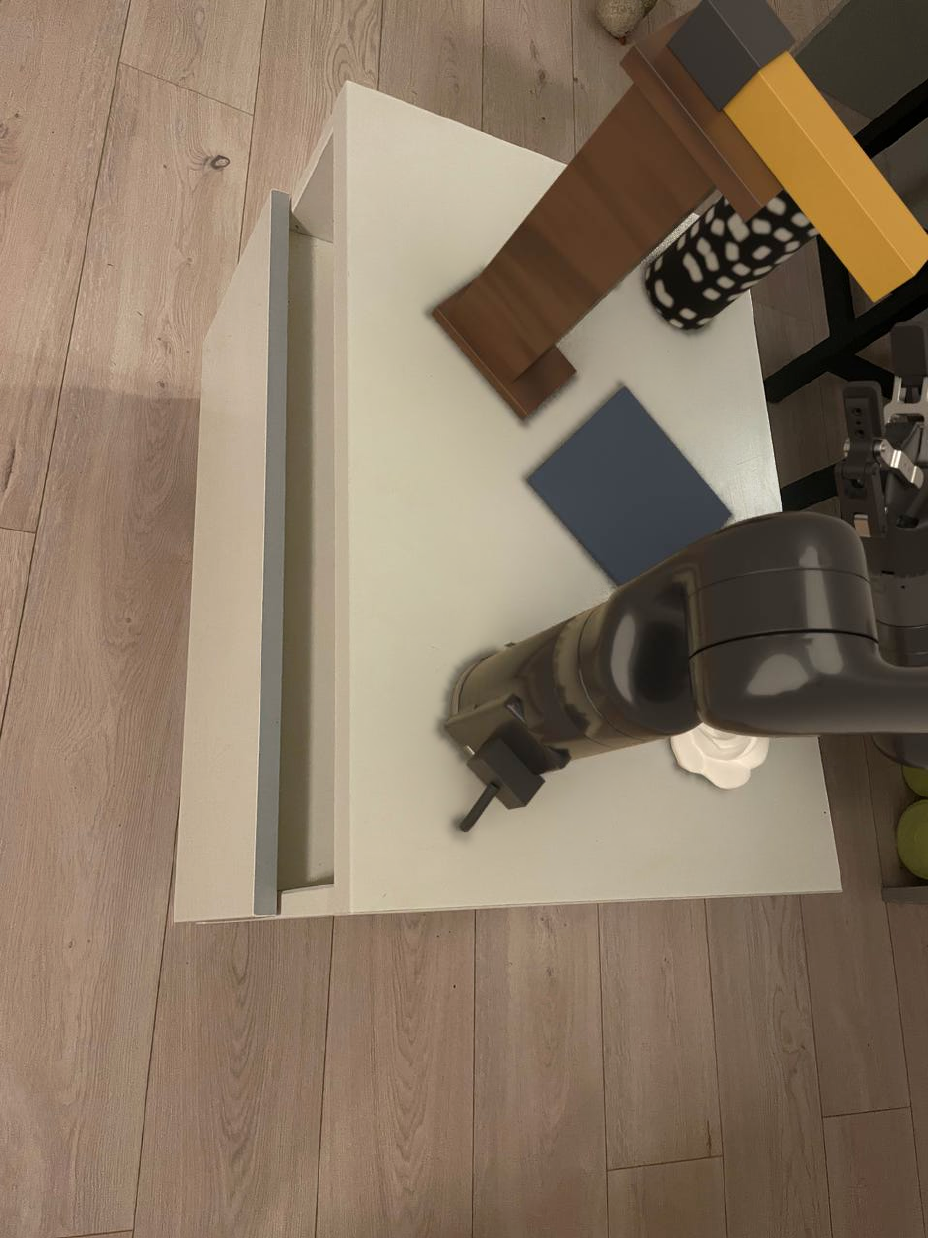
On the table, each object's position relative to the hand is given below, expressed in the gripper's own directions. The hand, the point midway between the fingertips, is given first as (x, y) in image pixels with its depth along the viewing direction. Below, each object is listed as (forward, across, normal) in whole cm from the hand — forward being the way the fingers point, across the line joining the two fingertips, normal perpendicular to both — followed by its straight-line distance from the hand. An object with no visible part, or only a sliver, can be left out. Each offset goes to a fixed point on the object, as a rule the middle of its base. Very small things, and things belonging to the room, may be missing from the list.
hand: (884, 352), depth 61 cm
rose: (-30, +11, +14) cm, 35 cm away
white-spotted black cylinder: (-4, -23, +29) cm, 37 cm away
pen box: (+13, 0, +5) cm, 14 cm away
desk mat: (-13, 0, +24) cm, 27 cm away
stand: (+3, 0, +33) cm, 33 cm away
